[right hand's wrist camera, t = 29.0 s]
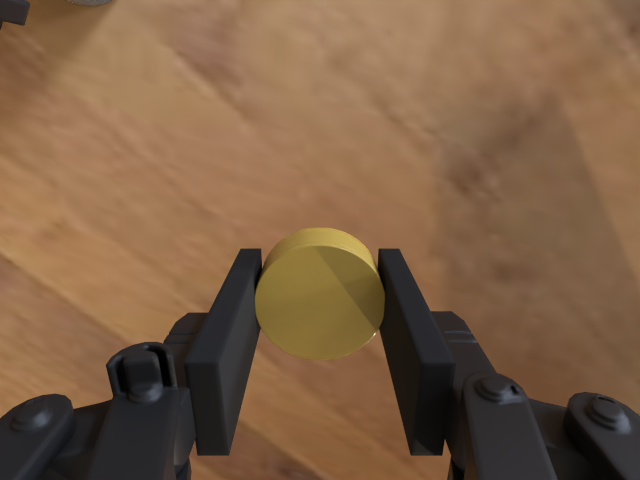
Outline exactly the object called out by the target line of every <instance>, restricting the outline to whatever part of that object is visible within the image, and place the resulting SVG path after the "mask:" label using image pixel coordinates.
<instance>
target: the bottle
mask: <svg viewBox="0 0 640 480" xmlns="http://www.w3.org/2000/svg"><path fill="white" fill-rule="evenodd" d="M66 1H68V2H71V3H74V4H78V5H83V6H97V5H101V4H105V3H107V2H110V1H111V0H66Z"/></svg>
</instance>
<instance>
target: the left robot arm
mask: <svg viewBox="0 0 640 480" xmlns="http://www.w3.org/2000/svg"><path fill="white" fill-rule="evenodd" d="M29 7H30V3H29V2H27V1H26V0H0V30H1V26H2V22H3V21H5V22H9V23H14V24H18V25H24V24H25V21H26V17H27V14H28V10H29Z"/></svg>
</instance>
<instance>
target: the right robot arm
mask: <svg viewBox="0 0 640 480" xmlns="http://www.w3.org/2000/svg"><path fill="white" fill-rule="evenodd" d="M261 271H262V258H261V249H240V251H239V253H238V255H237V257H236V259H235V261H234V263H233V265H232V267H231V269H230V271H229V273H228V275H227V277H226V279H225V281H224V283H223V285H222V287H221V289H220V291H219V293H218V295H217V297H216V299H215V301H214V303H213V305H212V307H211V309H210V311H209V313H187V314H186V315H185V316H183V317H182V318H181V319H179V320H178V321H177V322H176V323H175V324H174V326H173V328H172V329H171V331H170V332H169V335H168V336H167V337H166V339H165V340H164V343H163V344H162V343H159V342H144V343H140V344H135V345H132V346H130V347H127V348H125V349H123V350H121V351H119V352H118V353H117V354H115V355H114V356H112V357H111V359H110V360H109V361H108V363H107V364H106V368H107V372H108V376H109V380H110V384H111V389H112V393H113V398H112V400H109V401H105V402H102V403H98V404H94V405H89V406H85V407H81V408H76V409H73V406H72V403H71V400H70V399H68V398H67V397H66V396H65V395H59V394H49V395H42V396H39V397H36V398H32V399H29V400H27V401H25V402H23V403H21V404H19V405H18V406H16V407H14V408H12V409H11V410H10V411H9V412H7V413H6V414H5V415H4V416H2V417H1V418H0V480H191V466H190V460H189V455H190V452H191V449H192V446H193V444H194V441H195V442H196V449H197V455H229V453H230V449H231V445H232V441H233V437H234V433H235V429H236V425H237V421H238V417H239V413H240V409H241V405H242V401H243V397H244V393H245V389H246V385H247V381H248V377H249V373H250V369H251V365H252V361H253V357H254V353H255V349H256V345H257V341H258V337H259V333H260V329H261V327H260V325H259V323H258V321H257V318H256V309H255V291H256V287H257V284H258V281H259V278H260V275H261ZM378 272H379V275H380V278H381V281H382V284H383V287H384V290H385V304H384V317H383V321H382V323H381V325H380V327H379V330H380V334H381V338H382V342H383V346H384V350H385V354H386V358H387V362H388V366H389V370H390V374H391V378H392V382H393V386H394V390H395V394H396V398H397V402H398V406H399V410H400V414H401V418H402V422H403V426H404V430H405V434H406V438H407V442H408V446H409V450H410V454H411V455H439V456H442V453H443V447H444V440H446V443H447V445H448V448H449V451H450V454H451V460H450V466H449V472H448V478H447V480H640V416H639V415H638V414H636V413H635V412H634V411H632V410H631V409H630V408H629V407H627V406H626V405H624V404H622V403H620V402H618V401H616V400H615V399H613V398H610V397H607V396H604V395H601V394H597V393H588V392H583V393H578V394H574V395H573V396H572V397H571V398H570V399H569V402H568V405H567V408H566V407H562V406H558V405H553V404H549V403H544V402H540V401H537V400H533V399H530V398H527V395H526V394H525V392H524V391H523V389H522V388H521V387H520V386H519V385H518V384H517V383H515V382H514V381H513V380H512V379H510V378H508V377H505V376H503V375H501V374H498V373H496V371H495V369H494V368H493V366H492V365H491V363H490V361H489V360H488V358H487V357H486V355H485V354H484V352H483V350H482V349H481V347H480V346H479V344H478V343H477V342H476V339H475V338H474V336H473V334H471V331H470V330H469V328H468V326H467V325H466V323H465V322H464V320H462V319H461V318H459V317H458V316H457V315H455V314H454V313H453V312H430V310H429V308H428V306H427V304H426V302H425V300H424V298H423V296H422V294H421V292H420V290H419V288H418V286H417V284H416V282H415V280H414V278H413V276H412V274H411V272H410V270H409V268H408V266H407V264H406V262H405V260H404V258H403V256H402V254H401V252H400V250H399V249H379V253H378Z"/></svg>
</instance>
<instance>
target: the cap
mask: <svg viewBox="0 0 640 480" xmlns="http://www.w3.org/2000/svg"><path fill="white" fill-rule="evenodd" d="M384 304H385V290H384V287H383V284H382V281H381V278H380V275H379V272H378V269H377V266H376V263H375V261H374V258H373V256H372V255H371V253H370V252H369V250H368V249H367V248H366V247H365V246H364V245H363V244H362V243H361V242H360V241H359V240H358V239H356V238H354V237H353V236H351V235H349V234H347V233H345V232H343V231H340V230H337V229H332V228H323V227H317V228H308V229H303V230H300V231H297V232H295V233H293V234H290V235H289V236H287V237H285V238H284V239H282V240H281V241H280V242H279V243H278V244H277V245H276V246H275V247H274V248H273V249H272V250H271V252H270V253H269V254H268V256H267V258H266V260H265V262H264V265H263V268H262V271H261V275H260V278H259V281H258V284H257V287H256V291H255V309H256V318H257V321H258V323H259V325H260V327H261V329H262V331H263V332H264V334H265V335H266V336H267V337H268V339H269V340H270V341H271V342H272V343H274V344H275V345H276V346H277V347H279V348H280V349H282V350H283V351H285V352H287V353H289V354H291V355H294V356H296V357H300V358H303V359H309V360H330V359H336V358H340V357H343V356H346V355H349V354H351V353H353V352H355V351H357V350H358V349H360V348H361V347H363V346H364V345H365V344H366V343H367V342H369V341H370V339H371V338H372V337H373V336H374V335H375V333H376V332H377V330H378V329H379V327H380V325H381V323H382V321H383V317H384Z"/></svg>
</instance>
